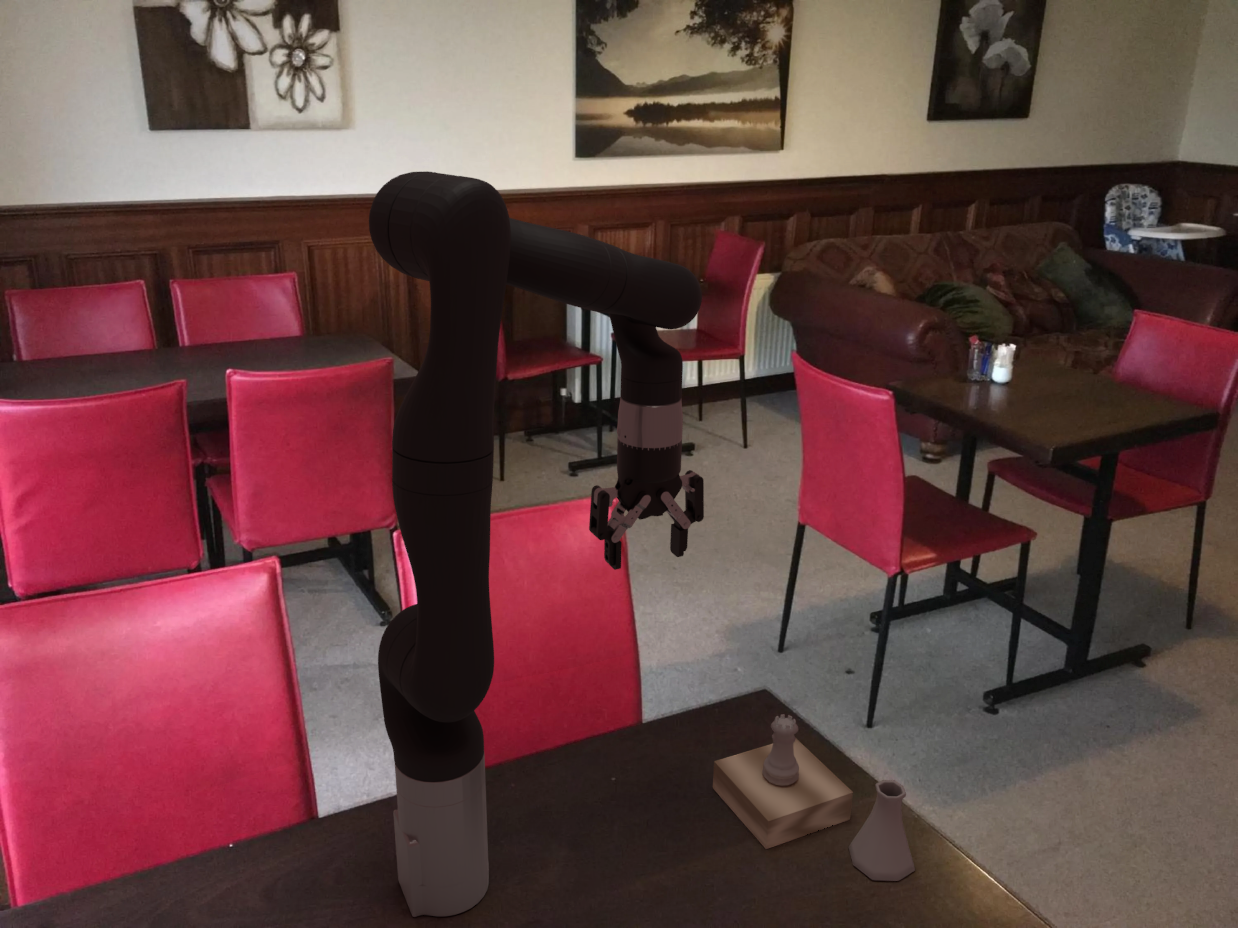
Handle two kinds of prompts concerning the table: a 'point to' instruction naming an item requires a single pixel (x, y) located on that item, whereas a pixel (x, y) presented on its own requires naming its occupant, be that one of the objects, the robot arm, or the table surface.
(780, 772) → the rook chess piece
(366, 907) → the table surface
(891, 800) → the flask
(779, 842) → the maple plinth
